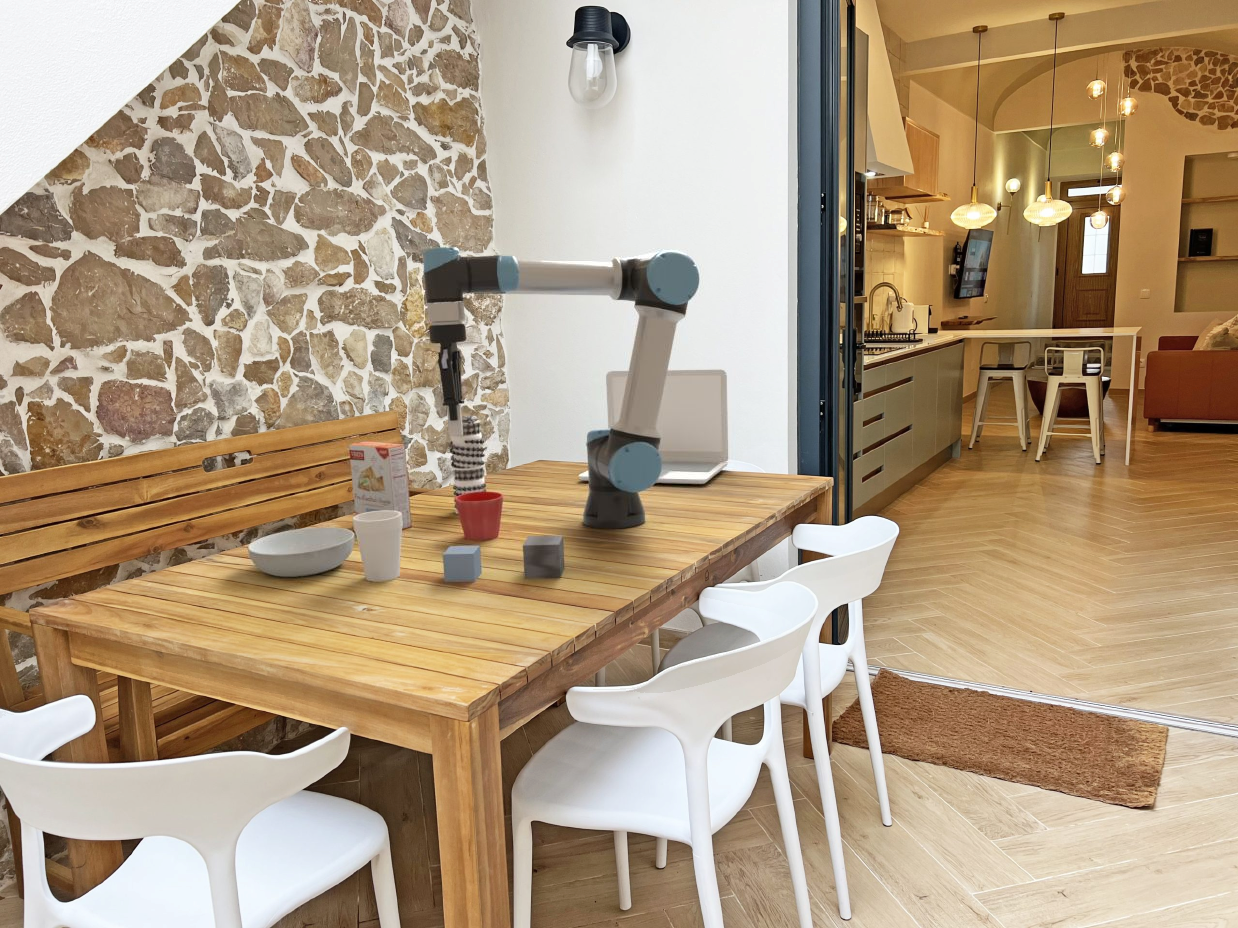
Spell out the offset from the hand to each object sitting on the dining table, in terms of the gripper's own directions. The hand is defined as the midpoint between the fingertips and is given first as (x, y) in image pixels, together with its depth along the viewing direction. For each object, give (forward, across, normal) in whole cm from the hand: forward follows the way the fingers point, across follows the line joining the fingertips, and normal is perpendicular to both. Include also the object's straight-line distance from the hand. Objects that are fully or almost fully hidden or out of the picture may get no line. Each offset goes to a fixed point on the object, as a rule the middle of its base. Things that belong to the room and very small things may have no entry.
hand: (456, 435), depth 195 cm
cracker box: (+26, -26, -25) cm, 45 cm away
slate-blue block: (+26, +20, +3) cm, 33 cm away
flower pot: (+26, -13, +1) cm, 29 cm away
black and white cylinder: (+26, -41, -6) cm, 49 cm away
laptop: (+27, -86, +43) cm, 100 cm away
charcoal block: (+26, +19, +19) cm, 37 cm away
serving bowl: (+26, +11, -32) cm, 42 cm away
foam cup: (+26, +19, -13) cm, 34 cm away
